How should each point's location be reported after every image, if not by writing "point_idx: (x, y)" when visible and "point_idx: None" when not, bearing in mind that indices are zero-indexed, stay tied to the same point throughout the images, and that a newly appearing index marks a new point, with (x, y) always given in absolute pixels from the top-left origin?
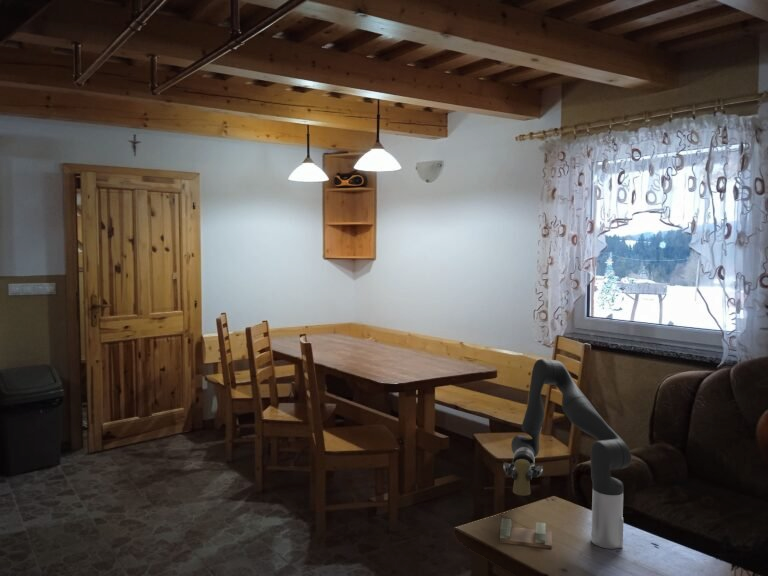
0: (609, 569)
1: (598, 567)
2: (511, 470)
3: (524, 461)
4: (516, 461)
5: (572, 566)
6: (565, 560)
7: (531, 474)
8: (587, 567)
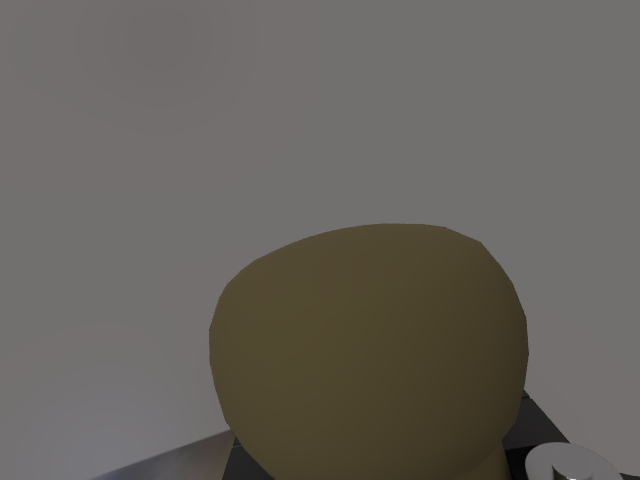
0: (97, 476)
1: (127, 473)
2: (624, 476)
3: (302, 239)
4: (442, 228)
5: (209, 448)
6: (220, 472)
7: (238, 441)
8: (163, 460)
